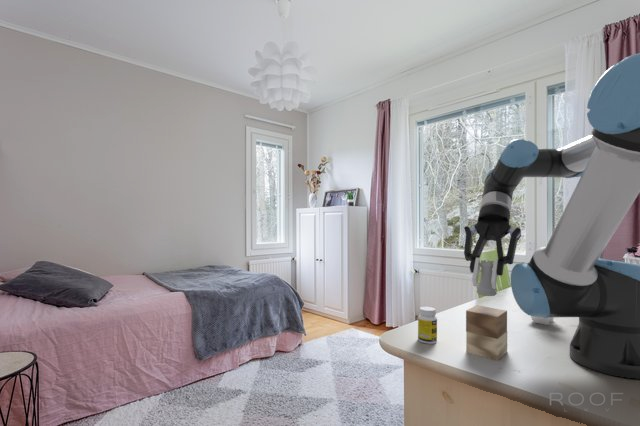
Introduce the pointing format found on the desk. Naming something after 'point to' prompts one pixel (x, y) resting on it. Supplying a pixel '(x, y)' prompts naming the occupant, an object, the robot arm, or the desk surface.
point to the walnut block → (486, 321)
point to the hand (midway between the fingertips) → (483, 283)
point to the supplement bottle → (427, 325)
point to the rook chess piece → (486, 279)
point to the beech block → (486, 345)
